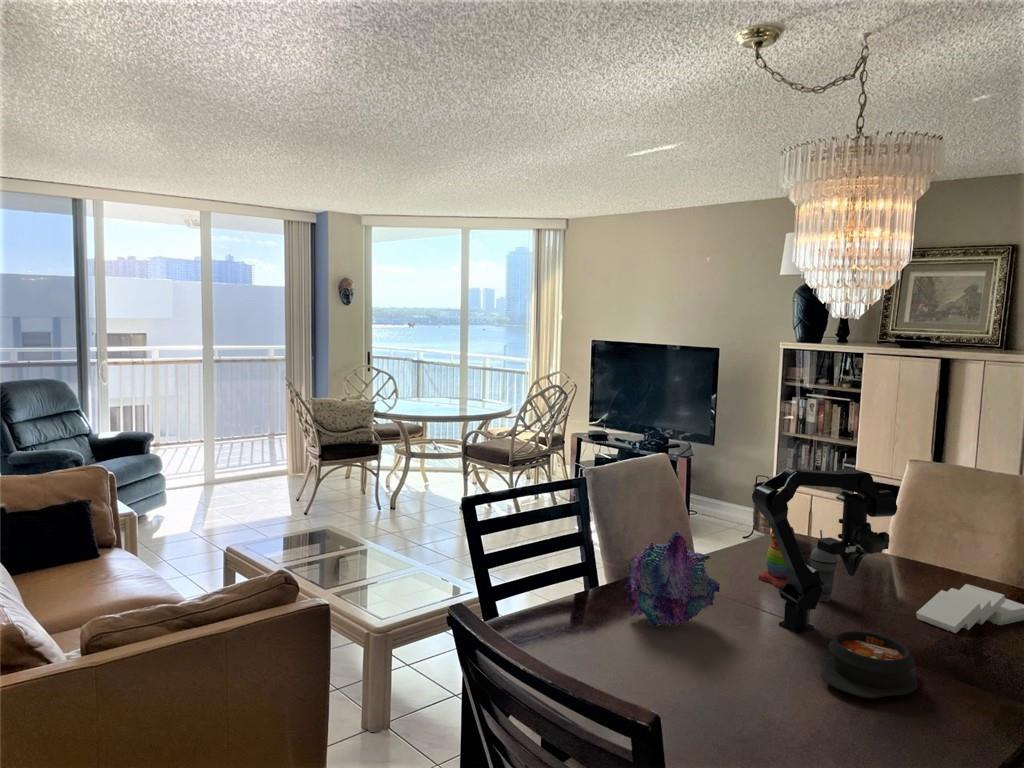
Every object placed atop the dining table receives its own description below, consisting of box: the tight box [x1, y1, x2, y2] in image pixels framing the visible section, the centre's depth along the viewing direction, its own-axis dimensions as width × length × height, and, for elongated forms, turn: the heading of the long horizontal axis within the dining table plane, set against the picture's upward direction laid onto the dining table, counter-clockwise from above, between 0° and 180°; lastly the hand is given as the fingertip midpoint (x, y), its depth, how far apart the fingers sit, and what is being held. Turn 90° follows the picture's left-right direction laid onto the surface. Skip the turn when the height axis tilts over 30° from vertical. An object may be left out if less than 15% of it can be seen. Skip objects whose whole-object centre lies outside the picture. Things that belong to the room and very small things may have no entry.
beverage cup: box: [809, 529, 839, 603], centre depth 203 cm, size 7×7×20 cm
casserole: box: [820, 630, 919, 700], centre depth 155 cm, size 25×19×8 cm
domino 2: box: [947, 587, 991, 631], centre depth 190 cm, size 2×10×12 cm
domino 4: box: [991, 597, 1024, 620], centre depth 195 cm, size 2×10×12 cm
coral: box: [623, 530, 721, 628], centre depth 183 cm, size 25×21×25 cm
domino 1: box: [915, 589, 981, 634], centre depth 188 cm, size 2×10×12 cm
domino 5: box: [987, 615, 1024, 626], centre depth 194 cm, size 2×10×12 cm
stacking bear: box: [758, 526, 796, 589], centre depth 216 cm, size 11×10×18 cm
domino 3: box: [959, 583, 1006, 625], centre depth 193 cm, size 2×10×12 cm
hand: (851, 575), depth 185 cm, fingers closed
